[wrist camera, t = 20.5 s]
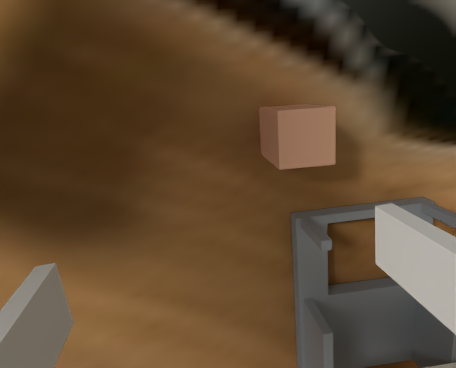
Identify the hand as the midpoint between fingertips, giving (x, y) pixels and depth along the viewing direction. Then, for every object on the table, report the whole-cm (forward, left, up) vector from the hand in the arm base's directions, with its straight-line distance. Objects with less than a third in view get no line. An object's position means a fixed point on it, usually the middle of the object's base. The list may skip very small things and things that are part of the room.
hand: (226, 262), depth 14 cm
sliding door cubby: (+18, +17, -24) cm, 34 cm away
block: (-2, +9, -24) cm, 26 cm away
